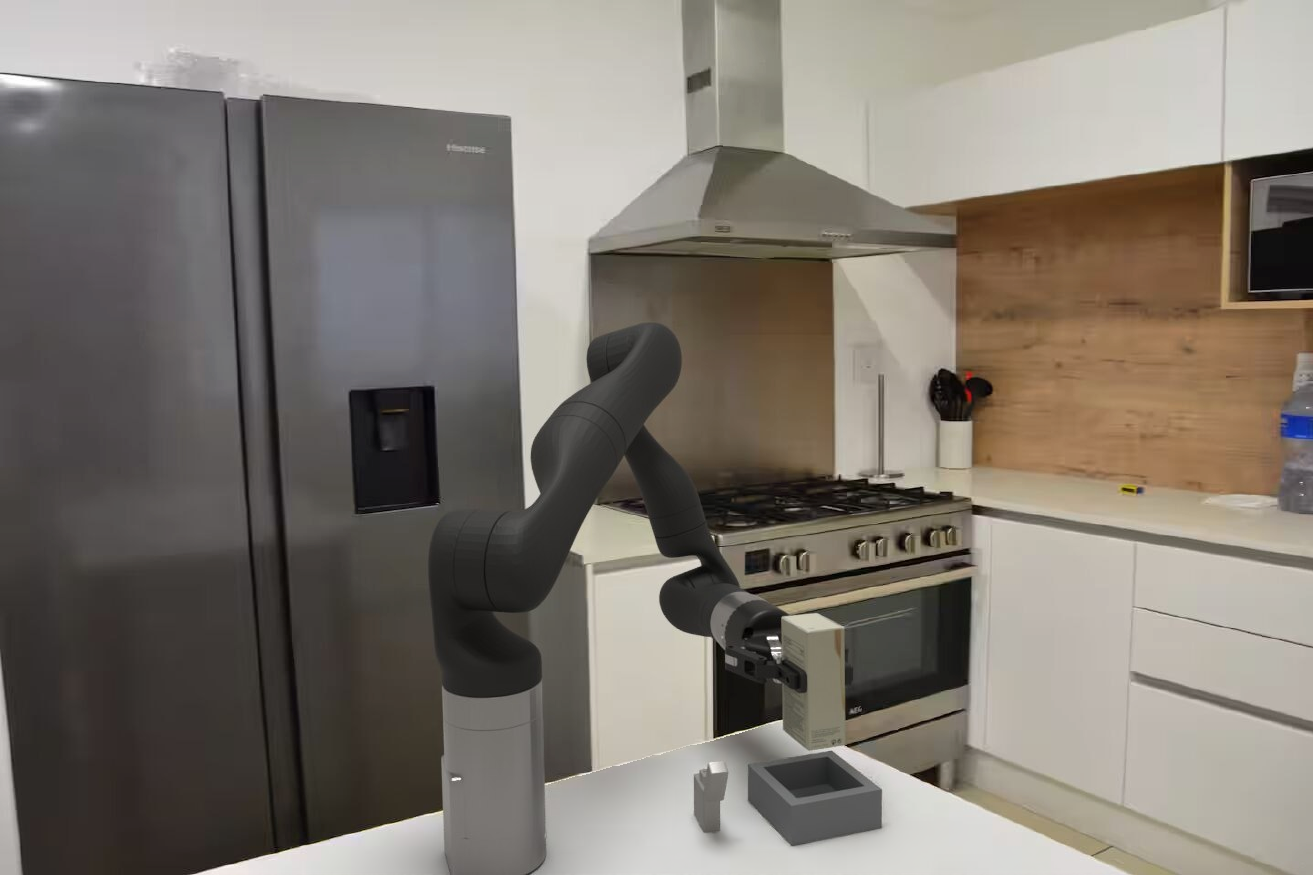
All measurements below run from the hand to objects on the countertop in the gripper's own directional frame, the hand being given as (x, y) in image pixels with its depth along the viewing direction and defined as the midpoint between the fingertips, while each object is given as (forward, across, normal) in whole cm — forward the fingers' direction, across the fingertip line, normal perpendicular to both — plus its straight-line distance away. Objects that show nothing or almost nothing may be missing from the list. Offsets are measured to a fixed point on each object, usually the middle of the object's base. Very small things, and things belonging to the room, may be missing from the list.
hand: (826, 679), depth 97 cm
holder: (-2, 0, +15) cm, 15 cm away
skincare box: (-3, 0, +7) cm, 8 cm away
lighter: (-3, -11, +15) cm, 19 cm away
